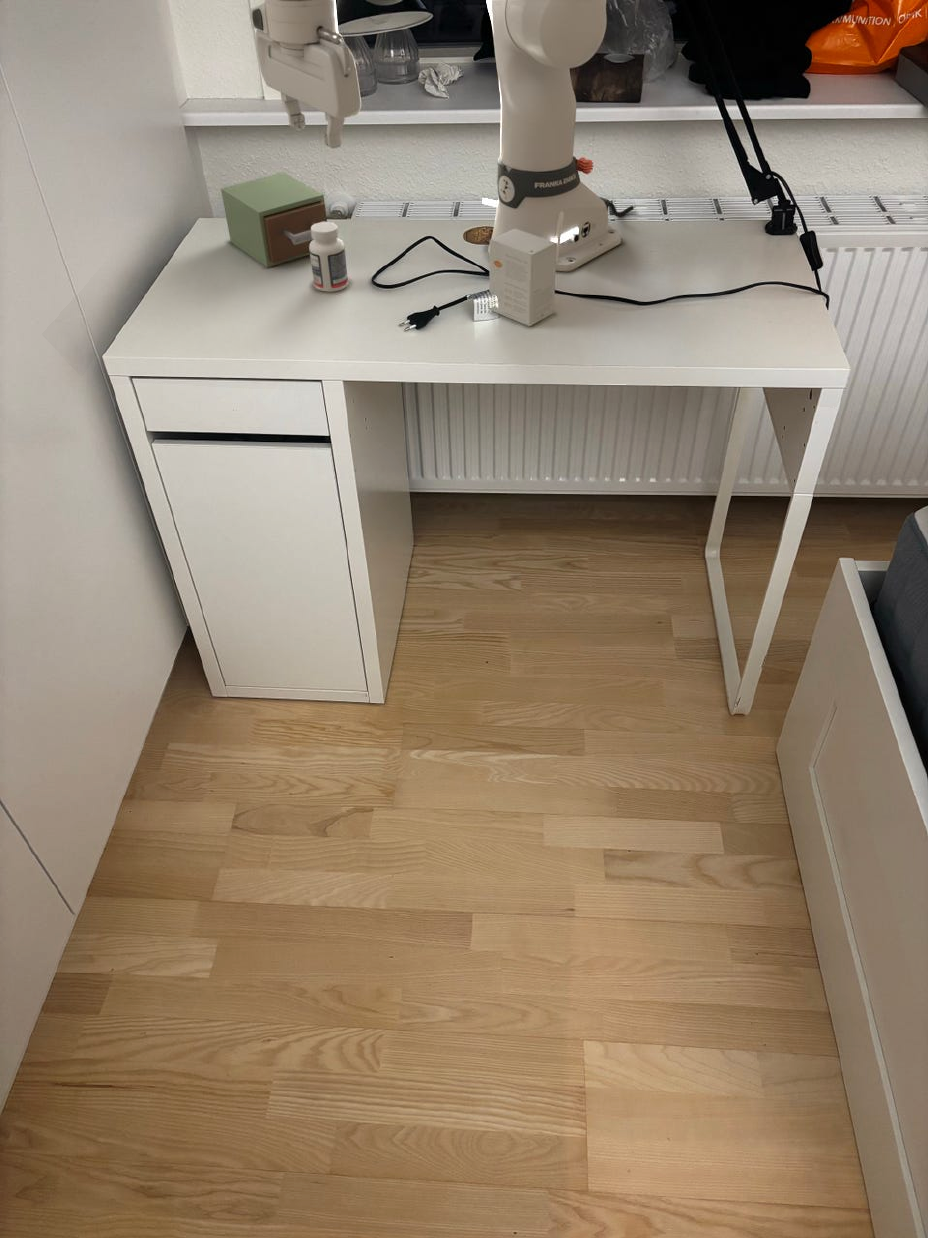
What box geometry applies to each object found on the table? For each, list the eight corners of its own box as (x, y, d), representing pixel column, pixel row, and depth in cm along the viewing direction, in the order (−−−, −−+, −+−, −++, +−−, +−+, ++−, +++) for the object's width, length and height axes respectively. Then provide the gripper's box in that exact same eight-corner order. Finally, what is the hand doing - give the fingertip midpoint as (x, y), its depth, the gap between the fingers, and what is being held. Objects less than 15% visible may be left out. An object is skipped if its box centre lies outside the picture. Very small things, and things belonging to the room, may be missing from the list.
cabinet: (329, 248, 151) (323, 194, 145) (267, 267, 146) (258, 212, 140) (291, 224, 158) (283, 171, 152) (230, 241, 153) (220, 188, 147)
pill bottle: (351, 278, 143) (345, 220, 137) (344, 293, 139) (338, 234, 133) (317, 276, 144) (310, 219, 137) (310, 291, 140) (303, 233, 134)
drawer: (343, 254, 147) (339, 211, 142) (286, 272, 143) (280, 228, 138) (294, 224, 156) (288, 182, 151) (239, 239, 152) (231, 197, 147)
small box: (554, 314, 134) (559, 242, 127) (529, 327, 131) (532, 254, 124) (513, 297, 138) (515, 226, 131) (487, 310, 135) (488, 238, 128)
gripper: (367, 31, 112) (376, 152, 122) (284, 2, 124) (298, 114, 134) (323, 40, 110) (335, 162, 119) (242, 9, 121) (259, 123, 131)
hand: (315, 137), depth 127 cm, fingers open, 8 cm apart
